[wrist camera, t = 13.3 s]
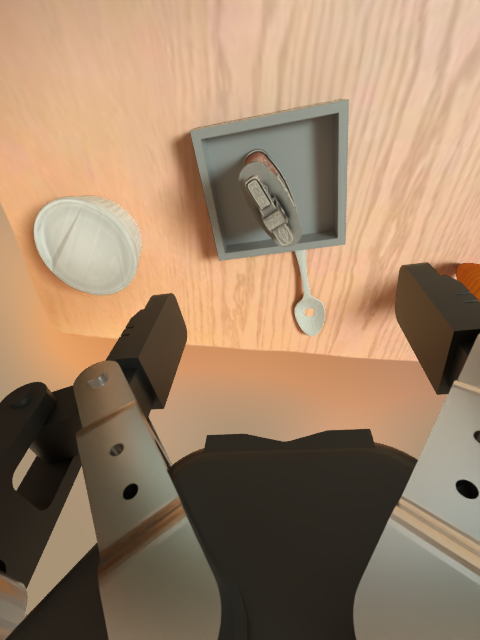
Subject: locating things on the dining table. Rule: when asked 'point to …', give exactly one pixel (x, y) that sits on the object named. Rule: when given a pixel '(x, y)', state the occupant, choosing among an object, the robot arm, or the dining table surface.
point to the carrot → (470, 277)
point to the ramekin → (88, 243)
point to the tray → (295, 164)
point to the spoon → (308, 303)
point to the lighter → (270, 198)
